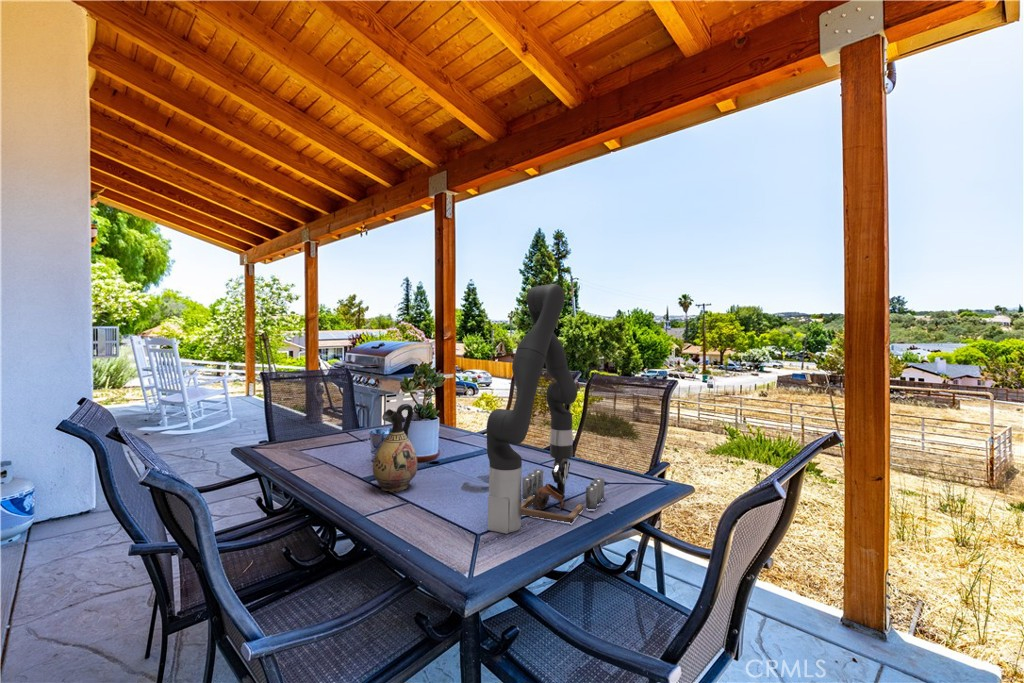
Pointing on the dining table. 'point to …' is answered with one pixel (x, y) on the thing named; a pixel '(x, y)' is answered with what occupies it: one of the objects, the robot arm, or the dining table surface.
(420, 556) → the dining table surface
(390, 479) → the ceramic jug
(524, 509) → the walnut frame
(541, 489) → the pottery mug
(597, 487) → the metal posts
